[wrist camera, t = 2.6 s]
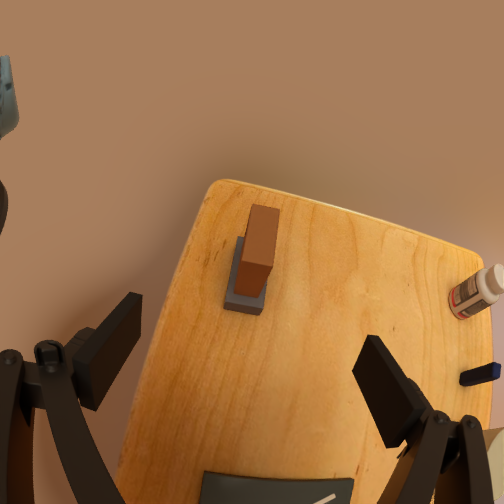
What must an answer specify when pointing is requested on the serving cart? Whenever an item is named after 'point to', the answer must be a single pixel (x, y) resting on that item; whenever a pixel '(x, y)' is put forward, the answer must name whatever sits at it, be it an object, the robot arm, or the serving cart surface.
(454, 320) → the serving cart surface
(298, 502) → the slate board
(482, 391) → the serving cart surface
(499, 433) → the can
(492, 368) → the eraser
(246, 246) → the chalk eraser
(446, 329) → the serving cart surface
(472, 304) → the pill bottle
